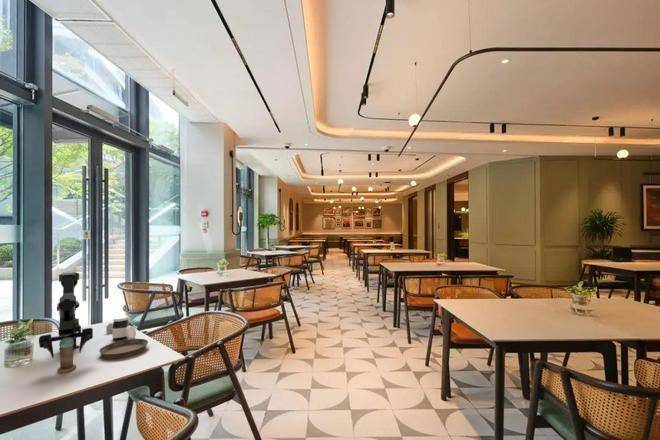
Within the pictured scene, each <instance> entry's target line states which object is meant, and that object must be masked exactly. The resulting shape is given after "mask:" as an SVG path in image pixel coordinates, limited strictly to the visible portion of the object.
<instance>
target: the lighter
mask: <svg viewBox="0 0 660 440" xmlns="http://www.w3.org/2000/svg"><path fill="white" fill-rule="evenodd" d="M112 326H113V322H110V323H108V324H107V325H106V326H105V327H106V328H105V329H106V330H105V331H106V332H105V333H106V334H111V333H112Z"/></svg>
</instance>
